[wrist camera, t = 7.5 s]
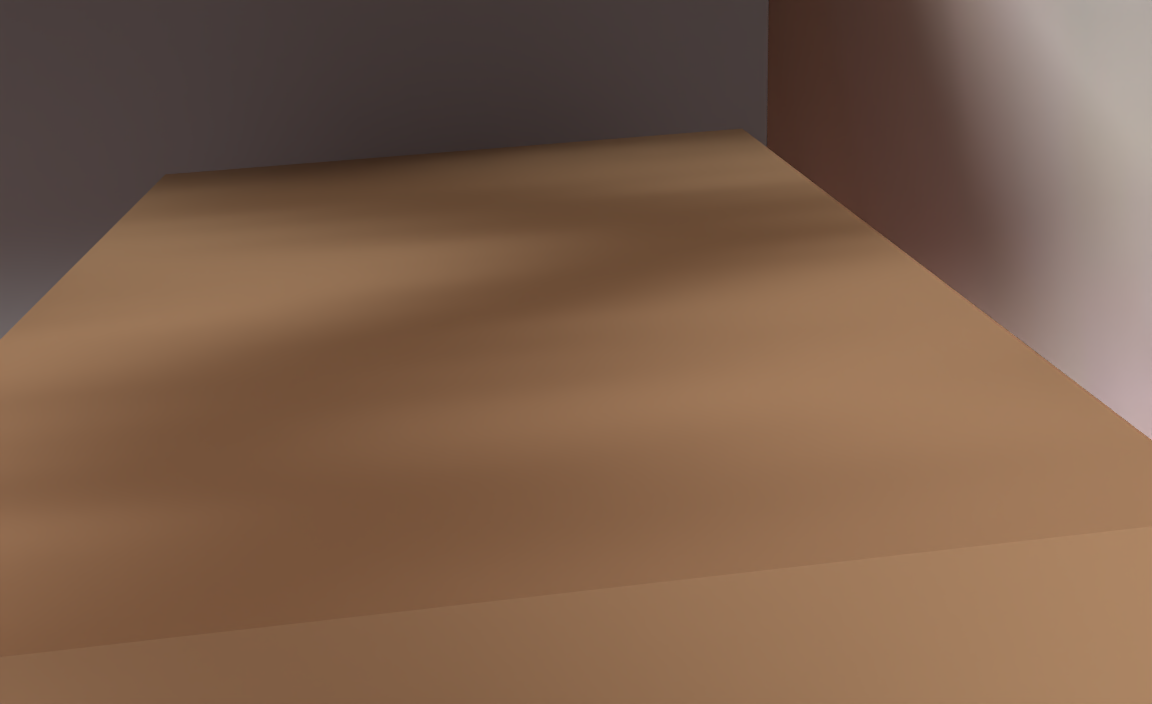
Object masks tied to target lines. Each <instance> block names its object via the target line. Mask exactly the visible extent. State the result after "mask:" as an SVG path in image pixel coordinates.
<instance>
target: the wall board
mask: <svg viewBox="0 0 1152 704" xmlns="http://www.w3.org/2000/svg"><path fill="white" fill-rule="evenodd" d="M768 7H769V0H0V339H1V338H2V337H3V336H4V335H5V334H6V333H7V332H8V331H9V330H10V329H11V328H12V327H13V326H14V325H15V324H16V323H17V322H18V321H19V320H20V319H21V318H22V317H23V316H24V315H25V314H26V313H27V312H28V311H29V310H30V309H31V308H32V307H33V306H34V305H35V304H36V303H37V302H38V301H39V300H40V299H41V298H42V297H43V296H44V295H45V294H46V293H47V292H48V291H49V290H50V289H51V288H52V287H53V286H54V285H55V284H56V283H57V282H58V281H59V280H60V279H61V278H62V277H63V276H64V275H65V274H66V273H67V272H68V271H69V270H70V269H71V268H72V267H73V266H74V265H75V264H76V263H77V262H78V261H79V260H80V259H81V258H82V257H83V256H84V255H85V254H86V253H87V252H88V251H89V250H90V249H91V248H92V247H93V246H94V245H95V244H96V243H97V242H98V241H99V240H100V239H101V238H102V237H103V236H104V235H105V234H106V233H107V232H108V231H109V230H110V229H111V228H112V227H113V226H114V225H115V224H116V223H117V222H118V221H119V220H120V219H121V218H122V217H123V216H124V215H125V214H126V213H127V212H128V211H129V210H130V209H131V208H132V207H133V206H134V205H135V204H136V203H137V202H138V201H139V200H140V199H141V198H142V197H143V196H144V195H145V194H146V193H147V192H148V191H149V190H150V189H151V188H152V187H153V186H154V185H155V184H156V183H157V182H158V181H159V180H160V179H161V178H162V177H163V176H164V175H165V174H177V173H190V172H203V171H215V170H228V169H240V168H253V167H265V166H278V165H291V164H303V163H316V162H328V161H341V160H354V159H366V158H379V157H391V156H404V155H416V154H429V153H442V152H454V151H467V150H479V149H492V148H504V147H517V146H530V145H542V144H555V143H567V142H580V141H592V140H605V139H618V138H630V137H643V136H655V135H668V134H681V133H693V132H706V131H718V130H731V129H744V130H745V131H746V132H747V133H749V134H750V135H751V136H753V137H754V138H755V139H757V140H758V141H759V142H761V143H762V144H763V145H765V146H766V147H767V94H768Z"/></svg>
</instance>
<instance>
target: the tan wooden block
mask: <svg viewBox="0 0 1152 704" xmlns="http://www.w3.org/2000/svg"><path fill="white" fill-rule="evenodd" d="M0 704H1152V440H1151V439H1149V438H1148V437H1147V436H1146V435H1144V434H1143V433H1142V432H1140V431H1139V430H1138V429H1136V428H1135V427H1134V426H1132V425H1131V424H1130V423H1128V422H1127V421H1126V420H1124V419H1123V418H1122V417H1121V416H1119V415H1118V414H1117V413H1115V412H1114V411H1113V410H1111V409H1110V408H1109V407H1107V406H1106V405H1105V404H1103V403H1102V402H1101V401H1100V400H1098V399H1097V398H1096V397H1094V396H1093V395H1092V394H1090V393H1089V392H1088V391H1086V390H1085V389H1084V388H1082V387H1081V386H1080V385H1079V384H1077V383H1076V382H1075V381H1073V380H1072V379H1071V378H1069V377H1068V376H1067V375H1065V374H1064V373H1063V372H1061V371H1060V370H1059V369H1057V368H1056V367H1055V366H1054V365H1052V364H1051V363H1050V362H1048V361H1047V360H1046V359H1044V358H1043V357H1042V356H1040V355H1039V354H1038V353H1036V352H1035V351H1034V350H1033V349H1031V348H1030V347H1029V346H1027V345H1026V344H1025V343H1023V342H1022V341H1021V340H1019V339H1018V338H1017V337H1015V336H1014V335H1013V334H1012V333H1010V332H1009V331H1008V330H1006V329H1005V328H1004V327H1002V326H1001V325H1000V324H998V323H997V322H996V321H994V320H993V319H992V318H991V317H989V316H988V315H987V314H985V313H984V312H983V311H981V310H980V309H979V308H977V307H976V306H975V305H973V304H972V303H971V302H969V301H968V300H967V299H966V298H964V297H963V296H962V295H960V294H959V293H958V292H956V291H955V290H954V289H952V288H951V287H950V286H948V285H947V284H946V283H945V282H943V281H942V280H941V279H939V278H938V277H937V276H935V275H934V274H933V273H931V272H930V271H929V270H927V269H926V268H925V267H924V266H922V265H921V264H920V263H918V262H917V261H916V260H914V259H913V258H912V257H910V256H909V255H908V254H906V253H905V252H904V251H902V250H901V249H900V248H899V247H897V246H896V245H895V244H893V243H892V242H891V241H889V240H888V239H887V238H885V237H884V236H883V235H881V234H880V233H879V232H878V231H876V230H875V229H874V228H872V227H871V226H870V225H868V224H867V223H866V222H864V221H863V220H862V219H860V218H859V217H858V216H857V215H855V214H854V213H853V212H851V211H850V210H849V209H847V208H846V207H845V206H843V205H842V204H841V203H839V202H838V201H837V200H836V199H834V198H833V197H832V196H830V195H829V194H828V193H826V192H825V191H824V190H822V189H821V188H820V187H818V186H817V185H816V184H814V183H813V182H812V181H811V180H809V179H808V178H807V177H805V176H804V175H803V174H801V173H800V172H799V171H797V170H796V169H795V168H793V167H792V166H791V165H790V164H788V163H787V162H786V161H784V160H783V159H782V158H780V157H779V156H778V155H776V154H775V153H774V152H772V151H771V150H770V149H769V148H767V147H766V146H765V145H763V144H762V143H761V142H759V141H758V140H757V139H755V138H754V137H753V136H751V135H750V134H749V133H747V132H746V131H745V130H744V129H731V130H718V131H706V132H693V133H681V134H668V135H655V136H643V137H630V138H618V139H605V140H592V141H580V142H567V143H555V144H542V145H530V146H517V147H504V148H492V149H479V150H467V151H454V152H442V153H429V154H416V155H404V156H391V157H379V158H366V159H354V160H341V161H328V162H316V163H303V164H291V165H278V166H265V167H253V168H240V169H228V170H215V171H203V172H190V173H177V174H165V175H164V176H163V177H162V178H161V179H160V180H159V181H158V182H157V183H156V184H155V185H154V186H153V187H152V188H151V189H150V190H149V191H148V192H147V193H146V194H145V195H144V196H143V197H142V198H141V199H140V200H139V201H138V202H137V203H136V204H135V205H134V206H133V207H132V208H131V209H130V210H129V211H128V212H127V213H126V214H125V215H124V216H123V217H122V218H121V219H120V220H119V221H118V222H117V223H116V224H115V225H114V226H113V227H112V228H111V229H110V230H109V231H108V232H107V233H106V234H105V235H104V236H103V237H102V238H101V239H100V240H99V241H98V242H97V243H96V244H95V245H94V246H93V247H92V248H91V249H90V250H89V251H88V252H87V253H86V254H85V255H84V256H83V257H82V258H81V259H80V260H79V261H78V262H77V263H76V264H75V265H74V266H73V267H72V268H71V269H70V270H69V271H68V272H67V273H66V274H65V275H64V276H63V277H62V278H61V279H60V280H59V281H58V282H57V283H56V284H55V285H54V286H53V287H52V288H51V289H50V290H49V291H48V292H47V293H46V294H45V295H44V296H43V297H42V298H41V299H40V300H39V301H38V302H37V303H36V304H35V305H34V306H33V307H32V308H31V309H30V310H29V311H28V312H27V313H26V314H25V315H24V316H23V317H22V318H21V319H20V320H19V321H18V322H17V323H16V324H15V325H14V326H13V327H12V328H11V329H10V330H9V331H8V332H7V333H6V334H5V335H4V336H3V337H2V338H1V339H0Z"/></svg>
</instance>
